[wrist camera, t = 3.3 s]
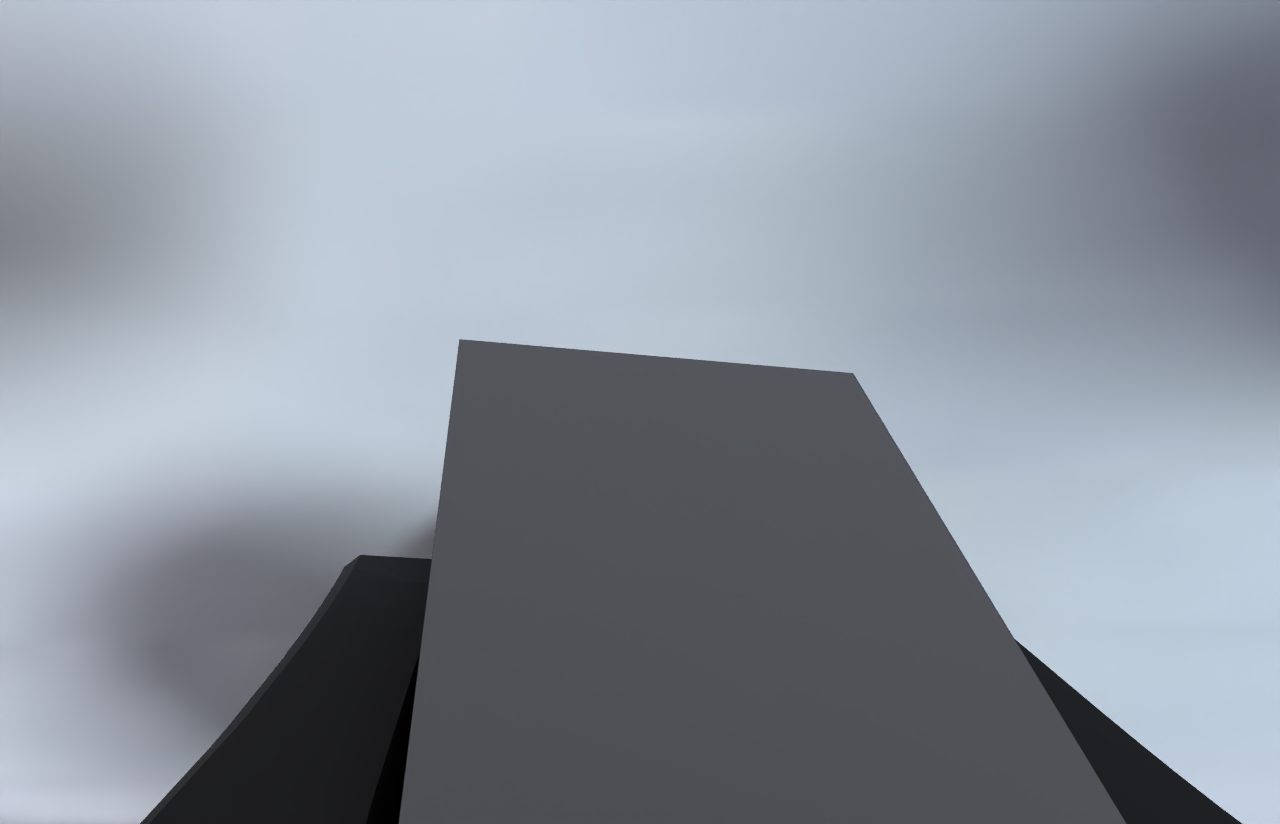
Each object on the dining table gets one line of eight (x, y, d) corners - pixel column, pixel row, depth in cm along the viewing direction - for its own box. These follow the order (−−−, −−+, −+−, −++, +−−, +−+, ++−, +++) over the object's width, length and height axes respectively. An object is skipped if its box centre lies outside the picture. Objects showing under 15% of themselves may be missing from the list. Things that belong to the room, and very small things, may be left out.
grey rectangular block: (781, 681, 12) (1030, 1507, 6) (436, 665, 11) (344, 1547, 6) (852, 372, 10) (1280, 1078, 5) (460, 339, 10) (366, 1082, 4)
